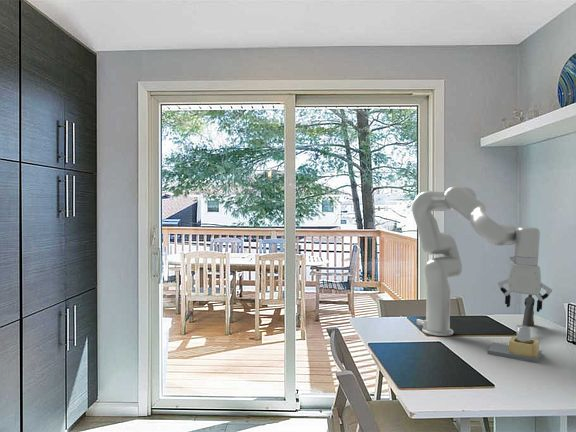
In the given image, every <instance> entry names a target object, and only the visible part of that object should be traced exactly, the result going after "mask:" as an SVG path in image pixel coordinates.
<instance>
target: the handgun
mask: <svg viewBox="0 0 576 432" xmlns="http://www.w3.org/2000/svg"><path fill="white" fill-rule="evenodd" d="M527 295H528V296H526V297H525V299H524V301H523V302H524V306H525V307H524V313H523V318H522V323H521V325H523V326H528V327H530V328H531V327H535V320H534V319H535V318H534V314H535V312H534V311H535V310H534V308H535V302H536V301H535V298H534V297H533V295H529V294H527Z"/></svg>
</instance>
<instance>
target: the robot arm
mask: <svg viewBox="0 0 576 432" xmlns="http://www.w3.org/2000/svg"><path fill="white" fill-rule="evenodd" d="M454 210H455V211H456V212H457V213H458V214H460V215H461V216H463V218H465V219H466V220H467V221H469V223H470V225H471V227H472V229H473V230H474V231H475V232H476V233H477V235H479V236H481V238H483V239H484V240H485V241H487V242H488V243H490V244H491V245H494V246H499V247H500V246H514V255H513V256H510V257H509V261H512V262H513V263H512V264H511V265H510V267H509V272H508V273H509V274H508V278H507V279H504V280H500V281H499V282H497V285H498V287H499V289H500V291H501V292H502V294H503V295H504V296H505V298H504V305H506V308H510V306H511V299H512V298H511V293H516V294H524V295H532V296H535V297H536V298H537V301H536V312H537V313H539V312H541V311H540V310H543V301H544V300H545V299H547V298H548V297H549V296H550V295H551V293H552V292H553V288H552V287H549V286H547V285H546V284H544V283H542V276H541V275H542V274H541V272H542V271H541V268H540V266H539V256H540V255H539V253H540V252H539V250H540V236H541V231H540V229H539V228H537V227H531V226H518V225H513V224H499V223H498V222H496V221H495V220H493V218H490V216H488V215H487V213H486V210H487V207H486V205H485V203H483V202H481V200H479V199H477V193H476V192H475V191H474V190H473V188H471V187H467V186H460V185H459V186H456V185H455V186H454V185H453V186H450V187H448V188H447V189H446V190H445V191H435V190H427V191H422V192H420V193H418V194H417V195H416V196H415V198H414V199H413V202H412V205H411V212H412V215H413V218H414V222H415V225H416V227H417V228H416V229H417V231H418V237H419V240H420V243H421V247H422V250H423V252H424V253H425V254H427V255H429V256H430V255H431V256H437V255H438V257H433V258H431V259H429V260H428V261H427V262H426V263H425V266H424V275H425V280H426V281H425V283H426V299H425V300H426V302H425V303H426V304H425V305H426V308H425V309H426V310H425V311H426V313H425V319H424V320H423V319H419V318H418V319H417V318H416V324H417V325H419V326H423V327H421V331H422V333H425V334H427V335H430V336H431V335H432V336H437V337H449V336H453V335H454V330H453V329H452V328H451V325H450V324H451V322H450V321H451V318H450V317H451V287H450V282H449V280H452V279H456V278H458V277H460V275H461V273H462V272H463V271H462V270H463V265H462V260H461V256H460V253H459V249H458V247H457V243H456V240H455V239H454V237H453V236H452V235H451V234H449V233H447V232H441V231H440V229H439V225H438V221H437V219H436V218H435V216H434V215H433V213H432V212H448V211H454ZM506 284H507V289H506V288H505V286H504V285H506ZM541 288H542V289H543V290H545V291H546V292H545V293H544V294H543V295H542V293H541Z"/></svg>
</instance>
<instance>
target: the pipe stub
mask: <svg viewBox="0 0 576 432" xmlns="http://www.w3.org/2000/svg"><path fill="white" fill-rule="evenodd" d="M531 332H532V331H531V326H530V327H528V326H523V325H522V324H521V325H516V337H517V339H516V342H520V343H526V344H530V339H531Z"/></svg>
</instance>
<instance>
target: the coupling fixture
mask: <svg viewBox="0 0 576 432" xmlns="http://www.w3.org/2000/svg"><path fill="white" fill-rule="evenodd" d="M516 339H517V336H512V337H510V339H509V340H508V344H504V343H500V342H493V343H492V344H491V346H489V347H488V349H487V354H489V355H492V356H493V355H494V356H498V357H505V358H509V359H515V360H520V361H526V362H531V363H535V364H538V363H539V361H540V358H541V356H542V354H543V350H540V340H537V339H533V338H530V344H526V343H520V342H516Z"/></svg>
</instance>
